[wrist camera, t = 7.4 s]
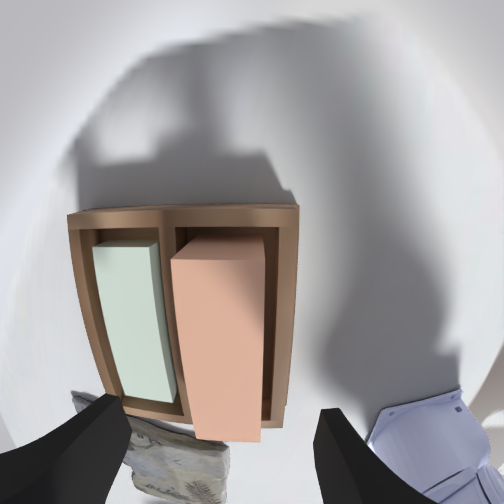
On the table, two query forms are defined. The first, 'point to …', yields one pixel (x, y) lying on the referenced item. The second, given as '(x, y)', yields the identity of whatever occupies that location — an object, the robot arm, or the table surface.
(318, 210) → the table surface
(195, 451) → the fossil rock
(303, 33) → the table surface
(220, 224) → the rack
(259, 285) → the clay bar
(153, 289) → the glazed tile
